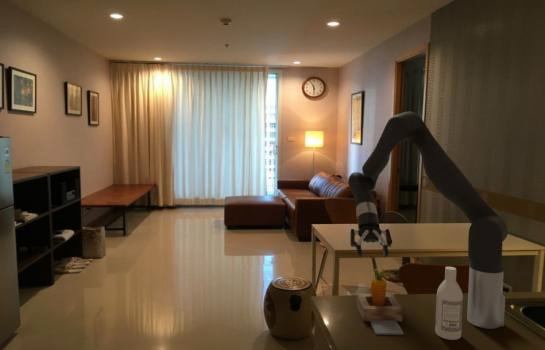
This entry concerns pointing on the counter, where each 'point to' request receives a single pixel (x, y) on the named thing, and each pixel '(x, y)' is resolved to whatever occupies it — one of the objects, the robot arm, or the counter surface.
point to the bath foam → (449, 307)
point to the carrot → (378, 289)
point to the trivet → (386, 327)
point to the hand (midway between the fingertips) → (373, 256)
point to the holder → (379, 308)
